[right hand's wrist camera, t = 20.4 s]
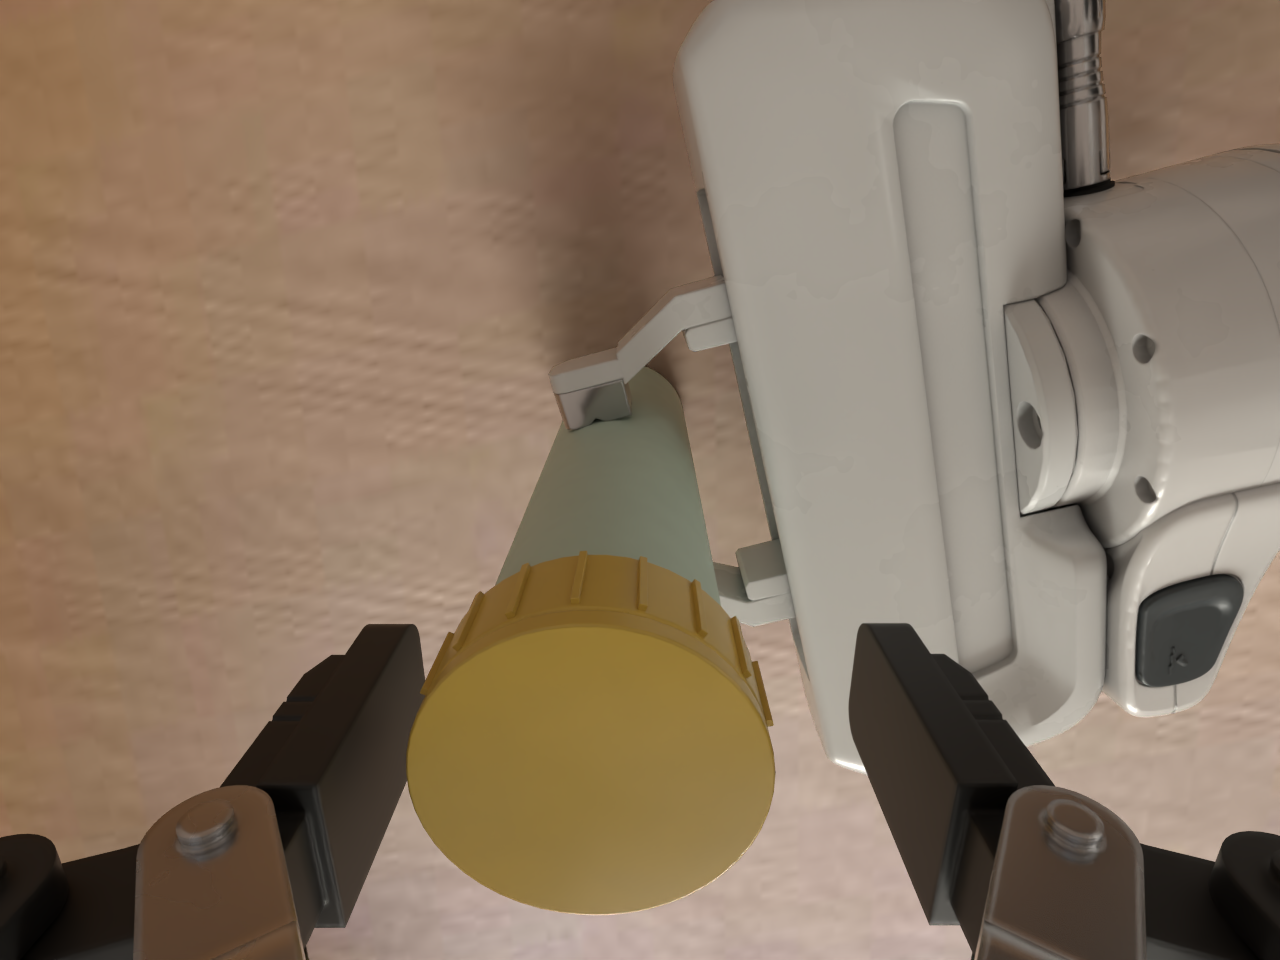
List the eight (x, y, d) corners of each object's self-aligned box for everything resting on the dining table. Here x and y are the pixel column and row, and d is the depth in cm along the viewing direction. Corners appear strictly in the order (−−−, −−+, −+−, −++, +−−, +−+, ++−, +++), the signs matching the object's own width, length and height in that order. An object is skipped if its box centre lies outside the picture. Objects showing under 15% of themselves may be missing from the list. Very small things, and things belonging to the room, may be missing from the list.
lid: (816, 725, 11) (850, 824, 9) (563, 855, 12) (549, 966, 10) (643, 485, 10) (644, 545, 8) (374, 653, 10) (319, 742, 9)
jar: (544, 410, 25) (377, 725, 9) (635, 338, 24) (617, 556, 8) (616, 495, 26) (575, 902, 11) (706, 430, 25) (804, 770, 10)
